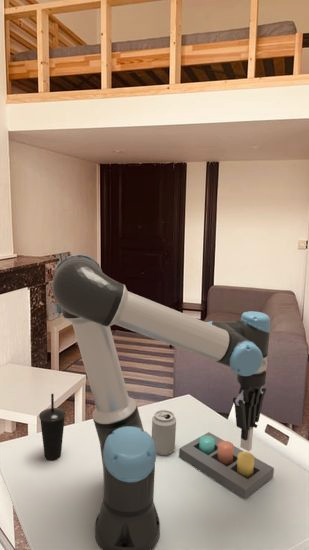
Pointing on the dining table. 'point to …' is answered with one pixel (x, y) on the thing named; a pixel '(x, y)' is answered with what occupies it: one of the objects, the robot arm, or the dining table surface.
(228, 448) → the coral button
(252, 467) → the yellow plastic cylinder
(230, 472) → the tray
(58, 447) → the drinking cup
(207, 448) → the teal cylinder
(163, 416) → the can
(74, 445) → the dining table surface
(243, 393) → the robot arm
